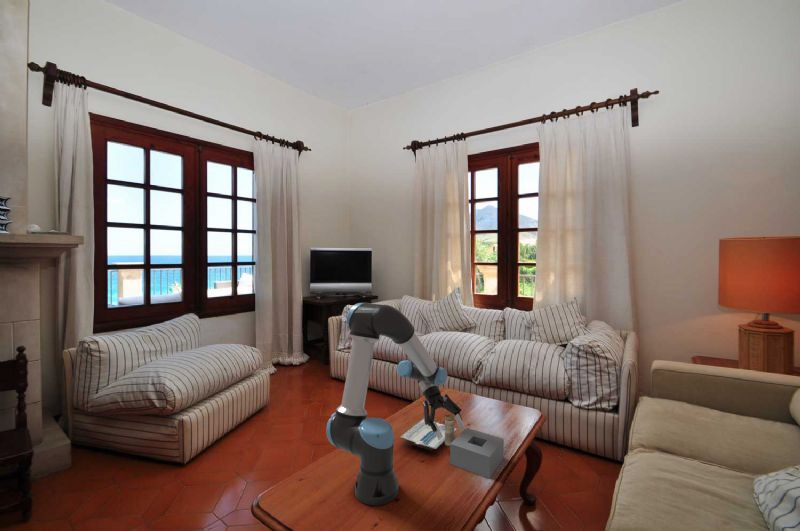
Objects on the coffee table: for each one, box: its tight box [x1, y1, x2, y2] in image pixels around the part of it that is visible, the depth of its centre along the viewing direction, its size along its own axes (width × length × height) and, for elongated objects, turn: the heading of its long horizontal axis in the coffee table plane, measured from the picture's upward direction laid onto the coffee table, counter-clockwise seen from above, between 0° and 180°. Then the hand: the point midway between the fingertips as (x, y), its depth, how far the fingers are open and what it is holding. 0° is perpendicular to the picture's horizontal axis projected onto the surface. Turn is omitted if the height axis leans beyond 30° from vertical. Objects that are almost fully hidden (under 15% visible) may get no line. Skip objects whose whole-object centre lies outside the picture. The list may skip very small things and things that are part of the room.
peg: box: [444, 414, 455, 447], centre depth 152 cm, size 4×4×12 cm
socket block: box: [449, 427, 505, 480], centre depth 139 cm, size 16×16×8 cm
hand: (452, 433), depth 151 cm, fingers open, 13 cm apart
